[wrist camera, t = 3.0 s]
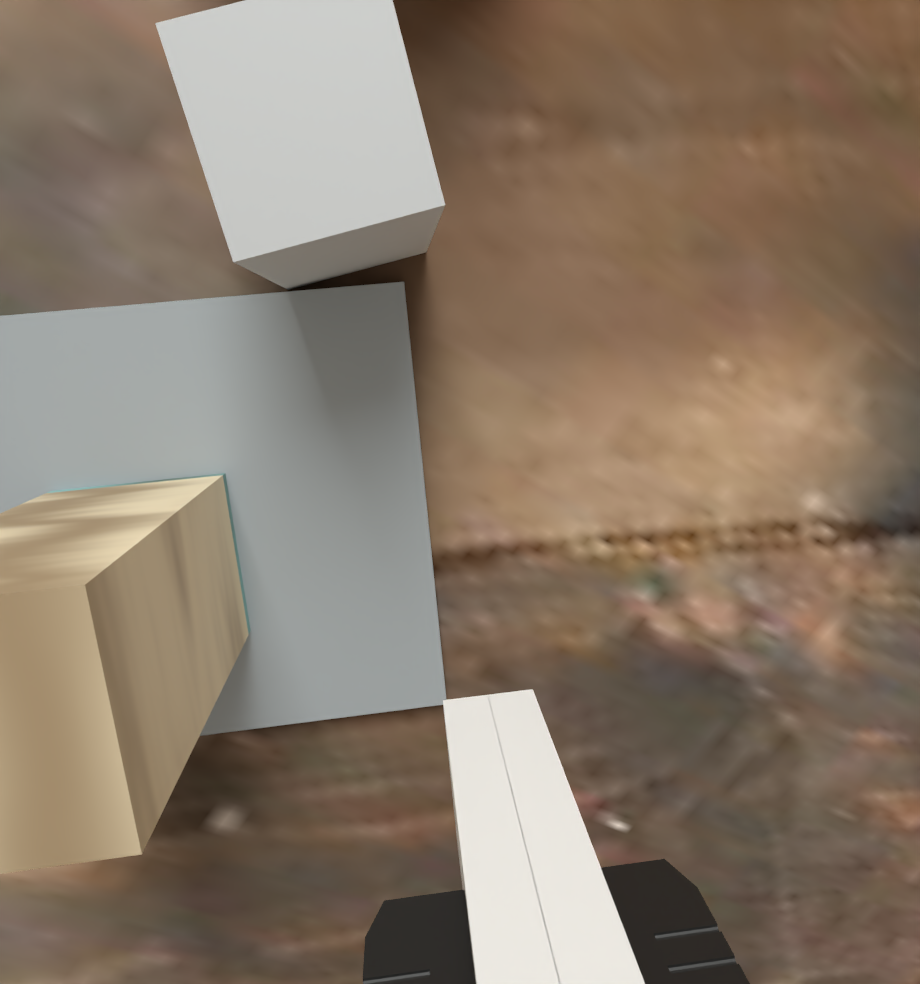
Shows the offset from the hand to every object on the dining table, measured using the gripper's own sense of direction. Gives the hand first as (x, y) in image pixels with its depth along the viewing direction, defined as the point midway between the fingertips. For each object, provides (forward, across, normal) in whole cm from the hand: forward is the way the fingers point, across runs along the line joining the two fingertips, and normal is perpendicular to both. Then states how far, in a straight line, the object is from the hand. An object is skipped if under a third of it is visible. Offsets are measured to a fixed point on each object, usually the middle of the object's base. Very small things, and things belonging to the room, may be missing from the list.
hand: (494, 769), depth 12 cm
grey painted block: (+16, -2, +12) cm, 20 cm away
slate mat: (+16, -12, +1) cm, 20 cm away
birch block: (+15, -10, 0) cm, 18 cm away
